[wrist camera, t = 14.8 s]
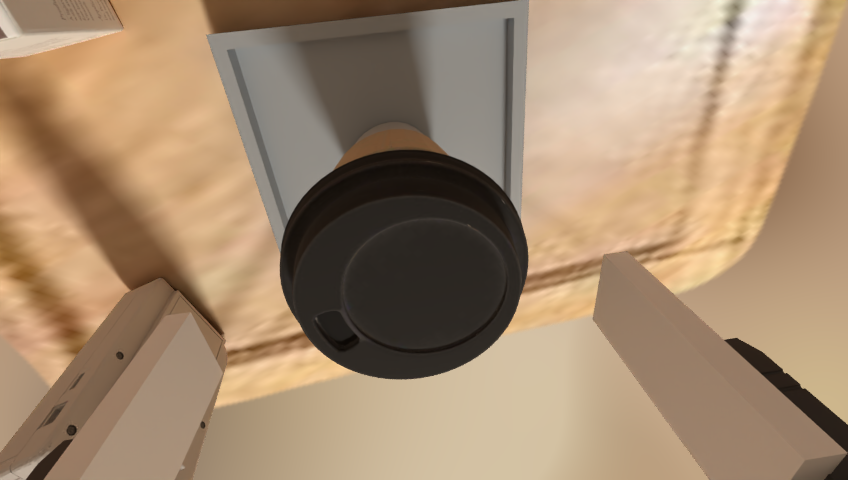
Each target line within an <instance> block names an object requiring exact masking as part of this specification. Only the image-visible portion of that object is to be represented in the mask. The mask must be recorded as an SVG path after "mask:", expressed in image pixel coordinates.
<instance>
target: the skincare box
mask: <svg viewBox="0 0 848 480" xmlns="http://www.w3.org/2000/svg"><path fill="white" fill-rule="evenodd" d="M122 30H123V26H122V24H121V23H120V21H119V19H118V17H117V15H116V14H115V12H114V10H113V8H112V6H111V5H110V3H109V1H108V0H0V59H3V58H15V57H25V56H29V55H33V54H37V53H41V52H45V51H49V50H53V49H57V48H61V47H64V46H68V45H72V44H76V43H80V42H83V41H87V40H91V39H94V38H98V37H102V36H105V35H109V34H113V33H116V32H120V31H122Z"/></svg>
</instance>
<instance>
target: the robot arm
mask: <svg viewBox="0 0 848 480" xmlns="http://www.w3.org/2000/svg"><path fill="white" fill-rule="evenodd" d="M593 320H594V322H595V323H596V324H597V326H598V327H599V328H600V330H601V331H602V332H603V334H604V335H605V337H606V338H607V340H608V341H609V342H610V344H611V345H612V346H613V348H614V349H615V350H616V352H617V353H618V355H619V356H620V357H621V359H622V360H623V362H624V363H625V364H626V366H627V367H628V368H629V370H630V371H631V372H632V374H633V375H634V377H635V378H636V379H637V381H638V382H639V384H640V385H641V386H642V388H643V389H644V390H645V392H646V393H647V395H648V396H649V397H650V399H651V400H652V401H653V403H654V404H655V406H656V407H657V408H658V410H659V411H660V412H661V414H662V415H663V417H664V418H665V419H666V421H667V422H668V423H669V425H670V426H671V427H672V429H673V430H674V432H675V433H676V434H677V436H678V437H679V439H680V440H681V441H682V443H683V444H684V446H685V447H686V448H687V450H688V451H689V452H690V454H691V455H692V457H693V458H694V459H695V461H696V462H697V463H698V465H699V466H700V468H701V469H702V470H703V472H704V473H705V474H706V476H707V477H708V479H709V480H848V425H847V424H846V423H845V422H844V421H842V420H841V419H840V418H839V417H838V416H837V415H835V414H834V413H833V412H832V411H831V410H830V409H829V408H827V407H826V406H825V405H824V404H823V403H821V402H820V401H819V400H818V399H817V398H816V397H814V396H813V395H812V394H811V393H810V392H808V391H807V390H806V389H802V388H801V386H800V384H799V383H798V382H797V381H796V380H794V379H793V378H792V377H791V376H790V375H789V374H787V373H786V374H785V373H784V372H783V369H782V368H780V367H779V366H778V365H777V364H775V363H774V362H773V361H772V360H771V359H770V358H769V357H767V356H766V355H765V354H764V353H763V352H761V351H759V350H758V349H756V348H754V347H752V346H750V345H749V344H747V343H745V342H743V341H741V340H739V339H738V338H733V339H727V340H723V339H722V338H721V337H720V336H719V335H718V334H717V333H715V331H713V330H712V329H711V328H710V327H709V326H708V325H706V323H705V322H704V321H702V320H701V319H700V318H699V317H698V316H697V315H696V314H695V313H694V312H693V311H692V310H690V309H689V308H688V307H687V306H686V305H684V303H683V302H682V301H680V300H679V299H678V298H677V297H676V296H675V295H674V294H673V293H672V292H671V291H670V290H668V289H667V288H666V287H665V286H664V285H663V284H662V283H661V282H660V281H659V280H658V279H656V278H655V277H654V276H653V275H652V274H651V273H650V272H649V271H648V270H647V269H645V268H644V267H643V266H642V265H641V264H640V263H639V262H638V261H637V260H636V259H635V258H633V257H632V256H631V255H630V254H629V253H628V252H627V251H626V252H619V253H611V254H604V256H603V262H602V268H601V273H600V279H599V285H598V291H597V297H596V303H595V308H594V314H593ZM222 374H223V372H222V370H221V368H220V366H219V364H218V362H217V361H216V359H215V357H214V355H213V353H212V351H211V349H210V347H209V346H208V344H207V342H206V340H205V338H204V336H203V334H202V332H201V331H200V329H199V327H198V325H197V323H196V321H195V319H194V317H193V316H192V314H191V312H187V313H180V314H173V315H165V317H164V318H163V319H162V321H161V322H160V323H159V325H158V326H157V327H156V329H155V330H154V331H153V333H152V334H151V336H150V337H149V338H148V340H147V341H146V342H145V344H144V345H143V346H142V348H141V349H140V350H139V352H138V353H137V354H136V356H135V357H134V358H133V360H132V361H131V362H130V364H129V365H128V367H127V368H126V369H125V371H124V372H123V373H122V375H121V376H120V377H119V379H118V380H117V381H116V383H115V384H114V385H113V387H112V388H111V389H110V391H109V392H108V393H107V395H106V396H105V398H104V399H103V400H102V402H101V403H100V404H99V406H98V407H97V408H96V410H95V411H94V412H93V414H92V415H91V416H90V418H89V419H88V420H87V422H86V423H85V424H84V426H83V427H82V429H81V430H80V431H79V433H78V434H77V435H76V437H75V438H74V439H70V440H64V441H63V442H62V443H61V444H59V445H58V446H57V447H56V448H55V449H54V450H53V451H52V452H50V453H49V454H48V455H47V456H46V457H45V458H44V459H43V460H41V461H40V462H39V463H38V464H37V466H36V467H35V468H34V469H33V471H32V472H31V473H30V475H29V476H28V477H27V478H26V480H175V478H176V476H177V474H178V472H179V469H180V467H181V465H182V463H183V461H184V458H185V456H186V454H187V452H188V450H189V447H190V445H191V443H192V441H193V438H194V436H195V434H196V432H197V430H198V427H199V425H200V423H201V421H202V419H203V416H204V414H205V412H206V410H207V408H208V405H209V403H210V401H211V399H212V396H213V394H214V392H215V390H216V388H217V385H218V383H219V381H220V379H221V377H222Z"/></svg>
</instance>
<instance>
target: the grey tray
mask: <svg viewBox="0 0 848 480" xmlns="http://www.w3.org/2000/svg"><path fill="white" fill-rule="evenodd" d="M528 10H529V0H518V1H509V2H500V3H491V4H482V5H473V6H464V7H455V8H446V9H436V10H427V11H418V12H409V13H400V14H391V15H382V16H373V17H364V18H355V19H346V20H336V21H327V22H318V23H309V24H300V25H291V26H282V27H273V28H264V29H255V30H245V31H236V32H227V33H218V34H209V35H206V36H207V39H208V42H209V45H210V48H211V51H212V54H213V56H214V59H215V62H216V65H217V68H218V71H219V74H220V77H221V80H222V83H223V86H224V89H225V92H226V95H227V98H228V101H229V104H230V107H231V109H232V112H233V115H234V118H235V121H236V124H237V127H238V130H239V133H240V136H241V139H242V142H243V145H244V148H245V151H246V154H247V157H248V160H249V162H250V165H251V168H252V171H253V174H254V177H255V180H256V183H257V186H258V189H259V192H260V195H261V198H262V201H263V204H264V207H265V210H266V212H267V215H268V218H269V221H270V224H271V227H272V230H273V233H274V236H275V239H276V242H277V245H278V248H279V251H280V254H281V244H282V239H283V234H284V231H285V228H286V225H287V223H288V220H289V218H290V216H291V214H292V212H293V211H294V209H295V207H296V206H297V204H298V203H299V201H300V200H301V199H302V197H303V196H304V195H305V194H306V193H307V192H308V191H309V190H310V188H311V187H313V186H314V185H315V184H316V183H317V182H318V181H319V180H321V179H322V178H323V177H325V176H326V175H327V174H329V173H330V172H332V171H333V170H334V168H335V167H336V165H337V164H338V163H339V161H340V160H341V158H342V157H343V155H344V154H345V153H346V152H347V151H348V150H349V149H350V148H351V147H352V146H353V145H355V143H356V142H357V140H358V139H359V138H360V137H361V136H362V135H363V134H364V133H365V132H367V131H368V130H370V129H371V128H373V127H375V126H377V125H380V124H383V123H387V122H402V123H407V124H409V125H411V126H413V127H415V128H416V129H418V130H419V131H420V132H422V133H423V134H424V135H425V136H427V137H429V138H430V139H431V140H433V141H434V142H435V143H436V144H438V145H439V146H440V147H441V148H442V149H443V150H444V151H445V152H446V153H447V154H448V155H449V156H452V157H454V158H457V159H460V160H462V161H464V162H466V163H468V164H470V165H472V166H474V167H476V168H477V169H479V170H481V171H482V172H484V173H485V174H486V175H488V176H489V177H490V178H491V179H493V180H494V181H495V182H496V183H497V184H498V185H499V186H500V187H501V188H502V190H503V191H504V192H505V193H506V194H507V196H508V197H509V199H510V200H511V201H512V203H513V205H514V207H515V208H516V210H517V212H518V215H519V217H520V220H521V200H522V173H523V146H524V118H525V91H526V64H527V37H528Z"/></svg>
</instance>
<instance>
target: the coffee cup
mask: <svg viewBox="0 0 848 480" xmlns="http://www.w3.org/2000/svg"><path fill="white" fill-rule="evenodd" d="M280 256H281V258H280V278H281V285H282V289H283V293H284V296H285V299H286V301H287V304H288V306H289V308H290V310H291V312H292V313H293V315H294V316H295V318H296V319H297V321H298V322H299V323H300V325H301V327H302V329H303V331H304V333H305V334H306V336H307V337H308V338H309V340H310V341H311V342H312V343H313V344H314V346H315V347H316V348H317V349H318V350H320V351H321V352H322V353H323V354H324V355H325V356H327V357H328V358H330V359H331V360H333V361H334V362H336V363H337V364H339V365H341V366H343V367H345V368H347V369H350V370H352V371H355V372H358V373H361V374H364V375H368V376H372V377H378V378H385V379H416V378H424V377H429V376H433V375H437V374H441V373H444V372H447V371H450V370H453V369H455V368H457V367H459V366H461V365H464V364H466V363H467V362H469V361H471V360H473V359H474V358H476V357H477V356H479V355H480V354H481V353H483V352H484V351H486V350H487V349H488V348H489V347H490V346H491V345H492V344H493V343H494V342H495V341H496V340H497V339H498V338H499V337H500V336H501V335H502V334H503V332H504V331H505V330H506V328H507V327H508V325H509V323H510V322H511V320H512V318H513V316H514V314H515V312H516V309H517V306H518V303H519V299H520V295H521V293H522V290H523V287H524V284H525V280H526V276H527V270H528V247H527V241H526V237H525V234H524V230H523V227H522V223H521V220H520V217H519V215H518V212H517V210H516V208H515V207H514V205H513V203H512V201H511V200H510V199H509V197H508V196H507V194H506V193H505V192H504V191H503V190H502V188H501V187H500V186H499V185H498V184H497V183H496V182H495V181H494V180H493V179H491V178H490V177H489V176H488V175H486V174H485V173H484V172H482V171H481V170H479V169H477V168H476V167H474V166H472V165H470V164H468V163H466V162H464V161H462V160H460V159H457V158H454V157H452V156H449V155H448V154H447V153H446V152H445V151H444V150H443V149H442V148H441V147H440V146H439V145H438V144H436V143H435V142H434V141H433V140H431V139H430V138H429V137H427V136H425V135H424V134H423V133H422V132H420V131H419V130H418V129H416V128H415V127H413V126H411V125H409V124H407V123H402V122H387V123H383V124H380V125H377V126H375V127H373V128H371V129H370V130H368V131H367V132H365V133H364V134H363V135H362V136H361V137H360V138H359V139H358V140H357V142H356V143H355V145H353V146H352V147H351V148H350V149H349V150H348V151H347V152H346V153H345V154H344V155H343V157H342V158H341V160H340V161H339V163H338V164H337V165H336V167H335V168H334V170H333V171H332V172H330V173H329V174H327V175H326V176H325V177H323V178H322V179H321V180H319V181H318V182H317V183H316V184H315V185H314V186H313V187H311V188H310V190H309V191H308V192H307V193H306V194H305V195H304V196H303V197H302V199H301V200H300V201H299V203H298V204H297V206H296V207H295V209H294V211H293V212H292V214H291V216H290V218H289V220H288V223H287V225H286V228H285V231H284V234H283V239H282V244H281V254H280Z"/></svg>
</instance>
